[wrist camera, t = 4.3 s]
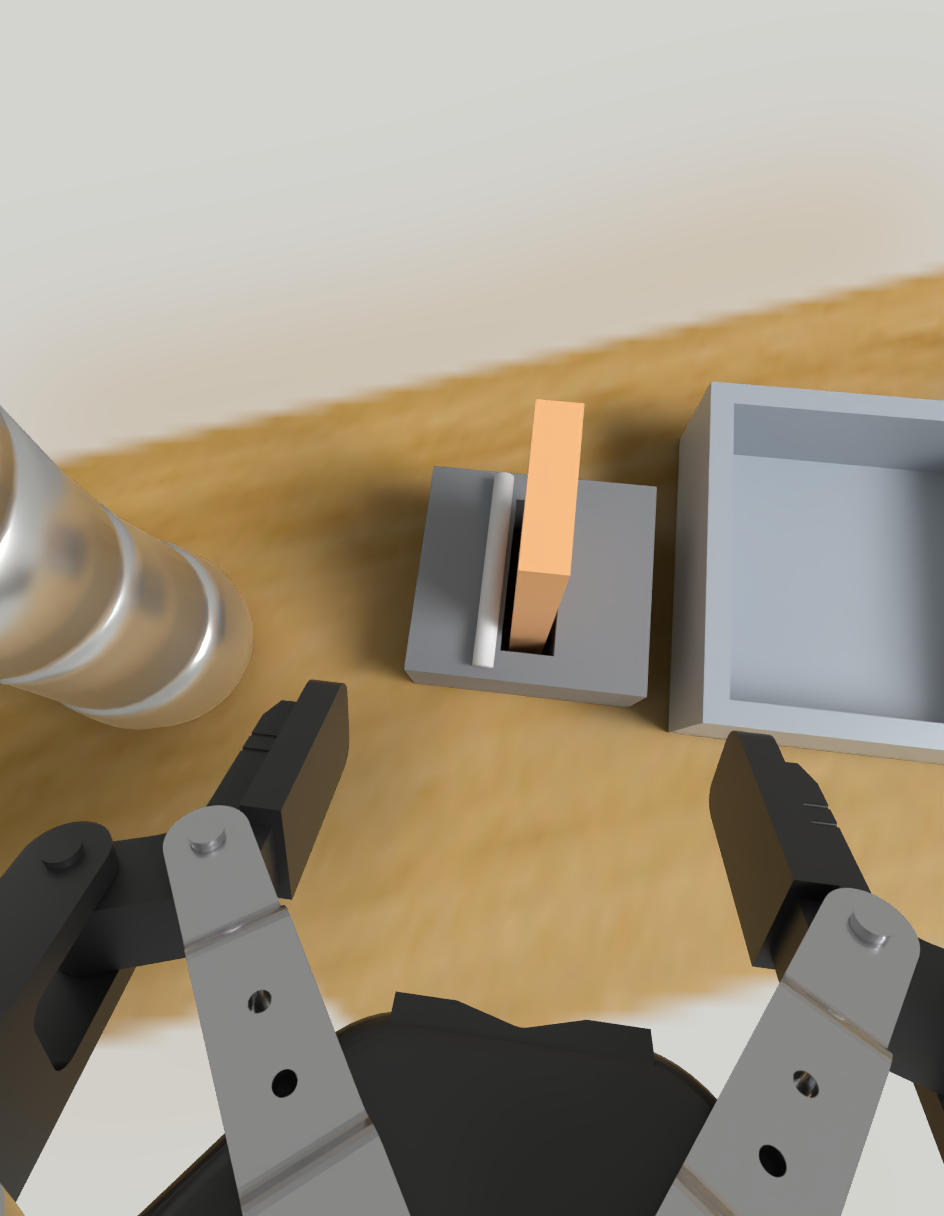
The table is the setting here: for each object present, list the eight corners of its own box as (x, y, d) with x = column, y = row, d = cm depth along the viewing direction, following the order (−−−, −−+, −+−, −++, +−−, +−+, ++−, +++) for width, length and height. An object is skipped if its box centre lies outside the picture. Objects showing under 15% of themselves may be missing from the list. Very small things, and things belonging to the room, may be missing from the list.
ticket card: (508, 654, 24) (518, 570, 15) (520, 544, 26) (536, 399, 16) (539, 657, 24) (570, 575, 15) (550, 547, 26) (584, 403, 16)
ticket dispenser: (414, 682, 24) (401, 666, 21) (440, 500, 26) (432, 456, 23) (628, 707, 24) (652, 694, 20) (638, 520, 26) (661, 477, 22)
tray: (668, 732, 23) (702, 722, 20) (679, 439, 27) (711, 381, 23) (1010, 772, 23) (1117, 770, 19) (981, 466, 26) (1067, 410, 22)
